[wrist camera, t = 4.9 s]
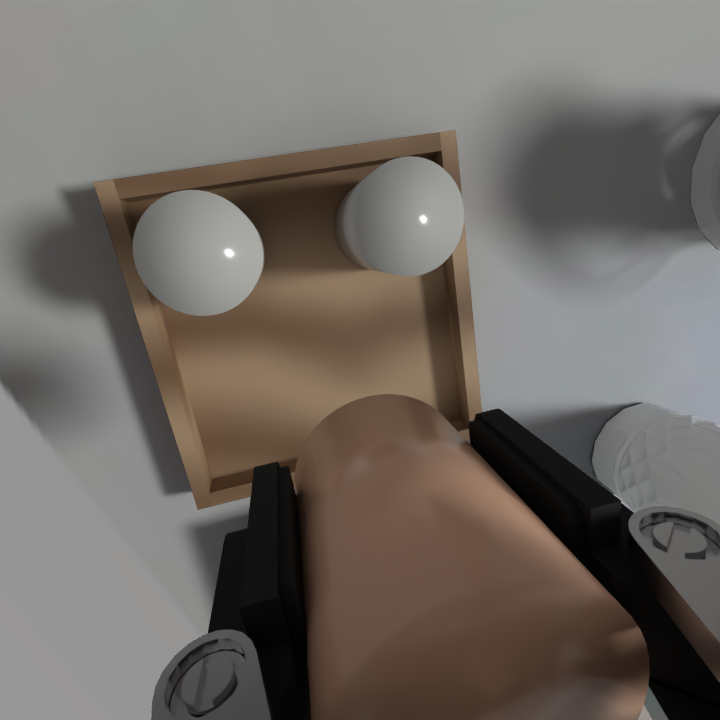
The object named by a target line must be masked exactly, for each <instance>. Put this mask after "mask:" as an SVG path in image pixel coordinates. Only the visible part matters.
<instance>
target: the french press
mask: <svg viewBox="0 0 720 720" xmlns="http://www.w3.org/2000/svg"><path fill="white" fill-rule="evenodd" d="M691 205H692V208H693V212H694V215H695V218H696V221H697V224H698V227H699V230H700V231H701V233H702V234H703V235H704V236H705V237H706V238H707V239H708V240H709V241H710V242H711V243H712V244H713V245H714V246H715V247H716V248H717V249H719V250H720V114H719V115H718V117H717V118H716V119H715V121H714V122H713V123H712V125H711V126H710V127H709V129H708V130H707V131H706V133H705V134H704V137H703V139H702V142H701V145H700V148H699V151H698V153H697V156H696V159H695V162H694V165H693V167H692V182H691Z"/></svg>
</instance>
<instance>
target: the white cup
mask: <svg viewBox="0 0 720 720" xmlns="http://www.w3.org/2000/svg"><path fill="white" fill-rule="evenodd" d="M592 464H593V467H594V471H595V474H596V477H597V479H598V480H599V481H600V482H601V483H602V484H603V485H605V486H606V487H607V488H608V489H609V490H611V491H612V492H613V493H614V494H616V495H617V496H618V497H620V498H621V499H622V500H623V501H624V502H625V503H626V504H627V505H628V506H629V507H630V509H631V510H632V511H633V512H637V511H639V510H640V509H644V508H648V507H654V506H668V507H674V508H681V509H685V510H688V511H692V512H695V513H698V514H700V515H702V516H705V517H707V518H709V519H711V520H713V521H714V522H716V523H717V524H719V525H720V424H717V423H714V422H710V421H707V420H705V419H702V418H699V417H695V416H692V415H685V414H682V413H680V412H677V411H674V410H671V409H669V408H666V407H663V406H658V405H653V404H648V403H641V404H638V405H634V406H631V407H628V408H624V409H623V410H621V411H620V412H619V413H618V414H616V415H615V416H614V417H613V418H611V419H610V420H609V421H608V422H607V423H606V424H605V426H604V427H603V429H602V431H601V432H600V434H599V436H598V437H597V439H596V441H595V444H594V451H593V457H592Z"/></svg>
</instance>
